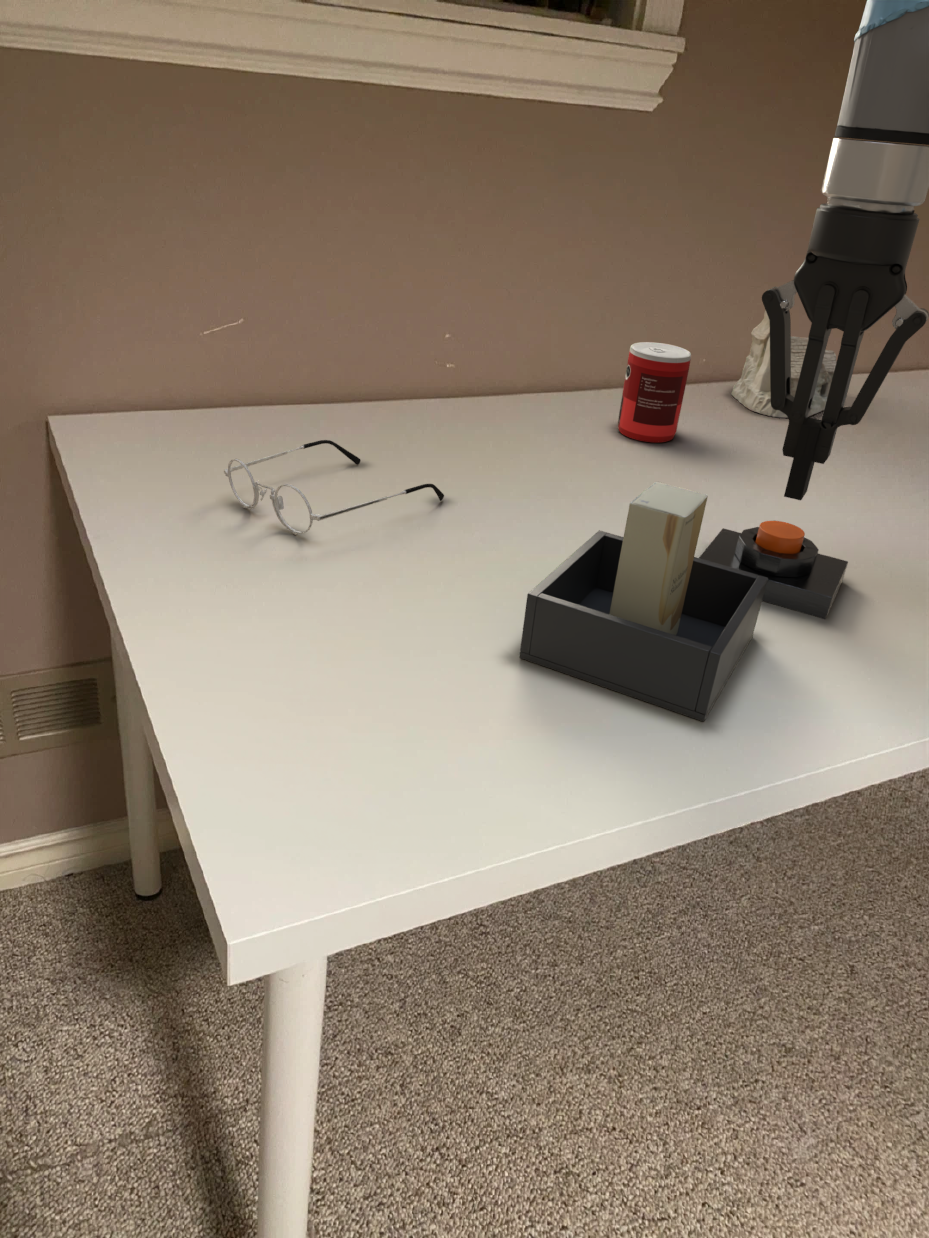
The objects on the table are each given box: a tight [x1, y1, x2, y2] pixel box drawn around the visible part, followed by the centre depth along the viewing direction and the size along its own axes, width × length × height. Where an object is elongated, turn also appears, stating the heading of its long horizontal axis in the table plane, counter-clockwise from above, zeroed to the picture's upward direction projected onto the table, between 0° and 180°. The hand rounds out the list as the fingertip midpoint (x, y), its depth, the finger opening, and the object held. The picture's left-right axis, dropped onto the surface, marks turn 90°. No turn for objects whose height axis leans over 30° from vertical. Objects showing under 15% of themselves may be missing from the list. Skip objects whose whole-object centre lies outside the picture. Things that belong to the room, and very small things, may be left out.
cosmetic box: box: [609, 481, 708, 635], centre depth 72 cm, size 6×4×12 cm
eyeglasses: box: [223, 439, 445, 536], centre depth 95 cm, size 16×19×5 cm
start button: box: [755, 520, 806, 554], centre depth 86 cm, size 4×4×2 cm
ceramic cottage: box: [731, 309, 837, 419], centre depth 141 cm, size 16×16×15 cm
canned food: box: [617, 341, 692, 444], centre depth 122 cm, size 8×8×11 cm
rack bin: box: [519, 529, 768, 723], centre depth 74 cm, size 15×15×6 cm
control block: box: [698, 526, 849, 620], centre depth 87 cm, size 12×9×4 cm
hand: (795, 493), depth 84 cm, fingers closed
